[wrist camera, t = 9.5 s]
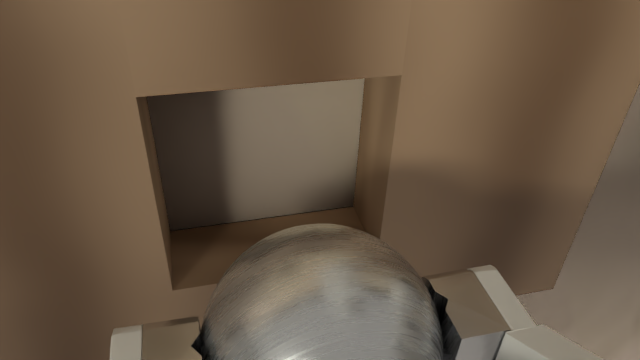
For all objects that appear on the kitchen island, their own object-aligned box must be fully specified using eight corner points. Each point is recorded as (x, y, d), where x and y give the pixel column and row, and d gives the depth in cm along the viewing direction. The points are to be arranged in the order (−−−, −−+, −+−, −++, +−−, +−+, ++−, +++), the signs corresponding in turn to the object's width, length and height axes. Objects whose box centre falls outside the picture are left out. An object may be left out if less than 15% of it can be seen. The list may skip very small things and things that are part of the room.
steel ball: (179, 192, 10) (194, 411, 7) (403, 164, 11) (520, 343, 8) (202, 342, 13) (222, 554, 9) (382, 309, 14) (461, 490, 10)
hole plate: (-44, 332, 17) (-69, 403, 15) (-280, -77, 10) (-382, -40, 8) (516, 242, 22) (552, 288, 20) (628, -90, 14) (703, -69, 12)
